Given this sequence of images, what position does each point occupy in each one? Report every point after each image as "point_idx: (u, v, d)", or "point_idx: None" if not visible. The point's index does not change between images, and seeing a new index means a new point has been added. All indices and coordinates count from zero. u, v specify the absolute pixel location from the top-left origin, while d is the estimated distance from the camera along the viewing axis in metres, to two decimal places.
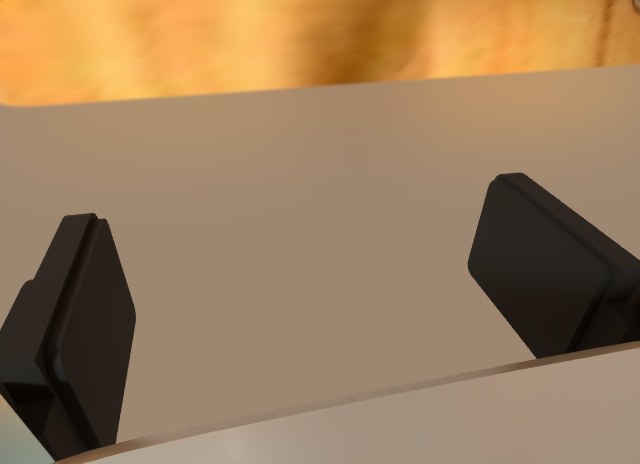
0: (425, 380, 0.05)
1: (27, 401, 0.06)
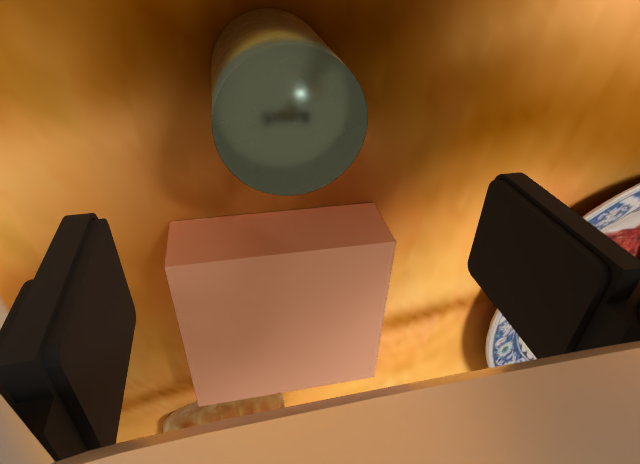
0: (425, 380, 0.05)
1: (27, 401, 0.06)
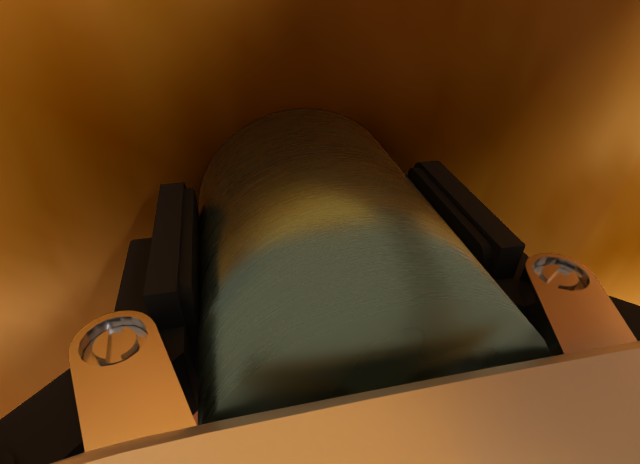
0: (425, 380, 0.05)
1: (162, 330, 0.07)
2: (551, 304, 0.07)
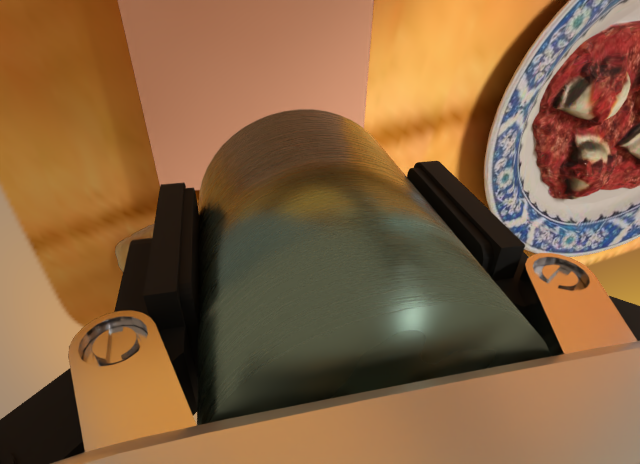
0: (425, 380, 0.05)
1: (162, 330, 0.07)
2: (551, 304, 0.07)
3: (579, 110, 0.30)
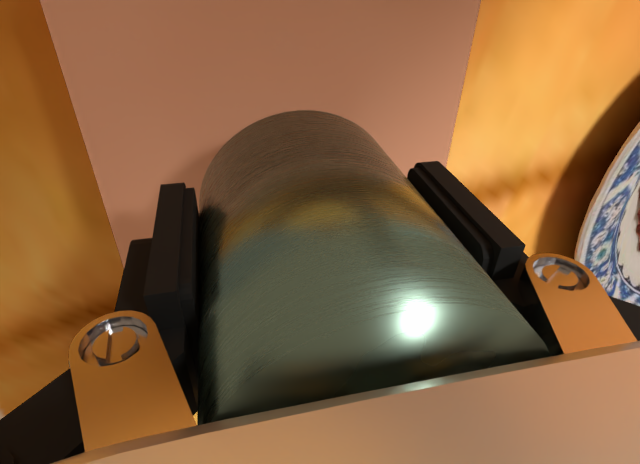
0: (425, 380, 0.05)
1: (162, 330, 0.07)
2: (551, 304, 0.07)
3: None
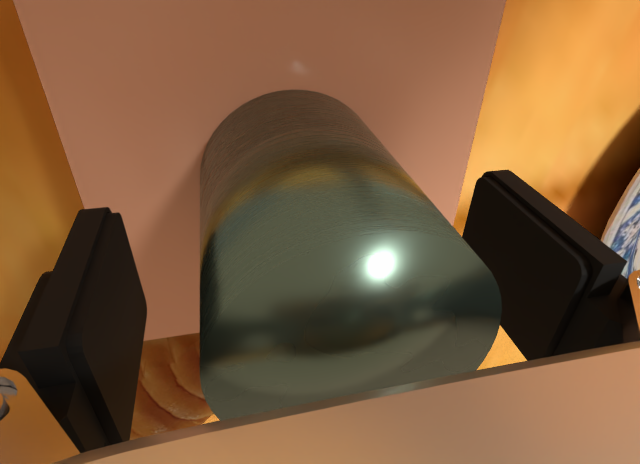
0: (425, 380, 0.05)
1: (49, 386, 0.06)
2: None
3: None
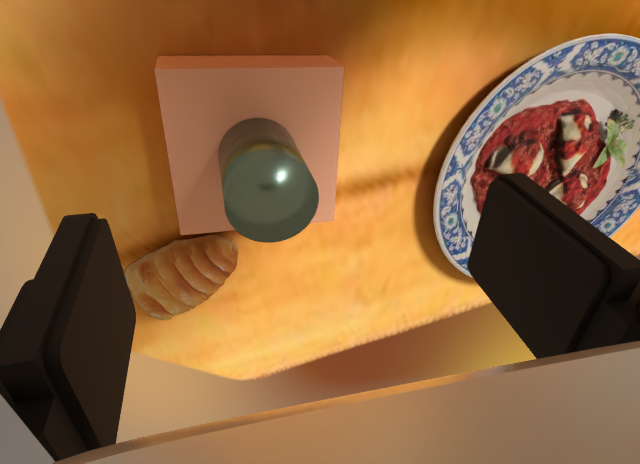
0: (425, 380, 0.05)
1: (27, 401, 0.06)
2: None
3: (504, 171, 0.39)
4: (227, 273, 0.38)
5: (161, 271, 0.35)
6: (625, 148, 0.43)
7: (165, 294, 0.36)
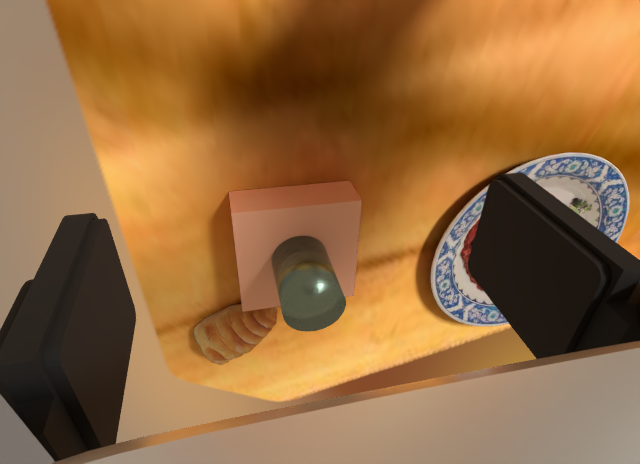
0: (425, 380, 0.05)
1: (27, 401, 0.06)
2: None
3: None
4: (269, 328, 0.50)
5: (222, 332, 0.47)
6: None
7: (225, 348, 0.48)
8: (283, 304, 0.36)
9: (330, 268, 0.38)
